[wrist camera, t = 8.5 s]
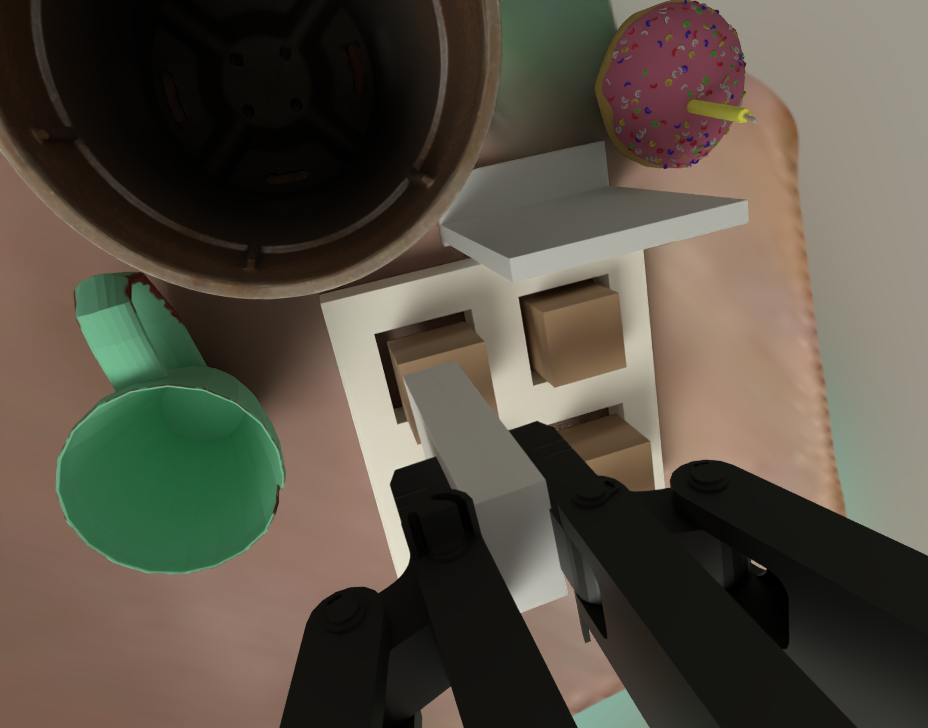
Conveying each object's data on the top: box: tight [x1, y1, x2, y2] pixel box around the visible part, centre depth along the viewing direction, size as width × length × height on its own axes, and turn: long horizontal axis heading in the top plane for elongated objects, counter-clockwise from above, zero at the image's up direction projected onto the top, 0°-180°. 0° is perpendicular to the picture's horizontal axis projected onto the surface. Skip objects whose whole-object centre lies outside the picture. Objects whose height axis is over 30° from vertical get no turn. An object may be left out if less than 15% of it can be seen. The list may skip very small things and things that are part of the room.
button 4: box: [518, 279, 627, 388], centre depth 40 cm, size 5×5×4 cm
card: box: [438, 141, 748, 282], centre depth 33 cm, size 4×11×14 cm, turn 101°
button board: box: [319, 250, 665, 578], centre depth 42 cm, size 20×20×2 cm
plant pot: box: [0, 0, 502, 299], centre depth 27 cm, size 16×16×16 cm
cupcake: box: [595, 0, 757, 169], centre depth 33 cm, size 9×8×12 cm
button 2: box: [387, 321, 499, 445], centre depth 36 cm, size 5×5×4 cm
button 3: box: [557, 414, 655, 491], centre depth 41 cm, size 5×5×4 cm
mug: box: [55, 272, 286, 574], centre depth 33 cm, size 15×10×10 cm
